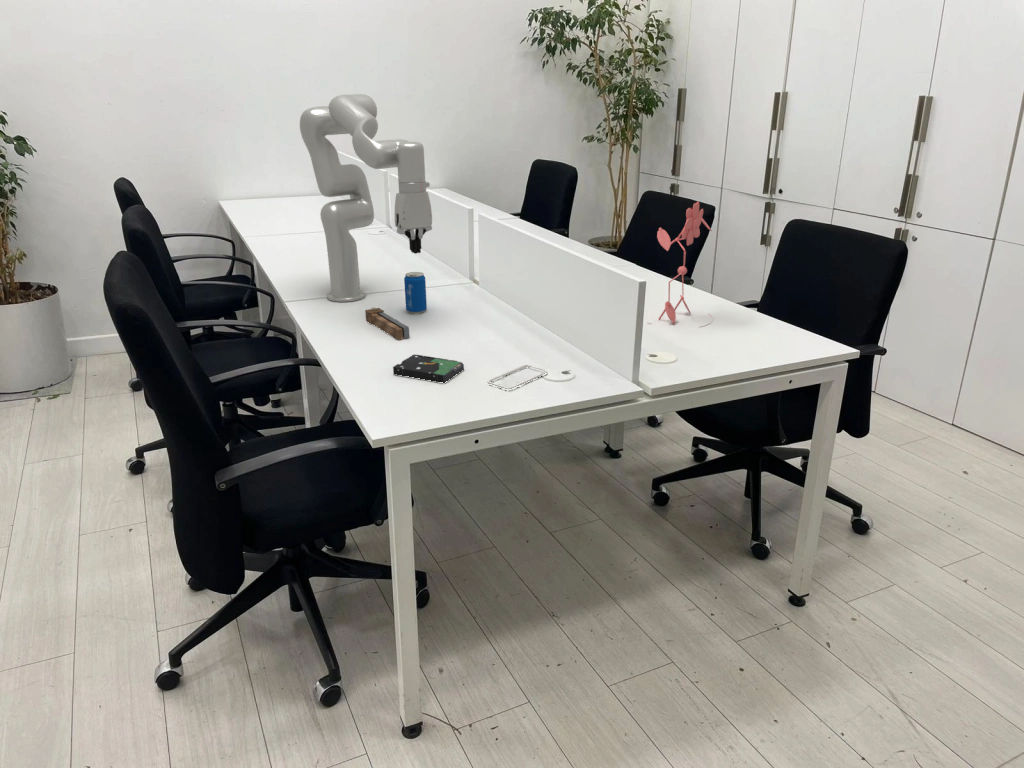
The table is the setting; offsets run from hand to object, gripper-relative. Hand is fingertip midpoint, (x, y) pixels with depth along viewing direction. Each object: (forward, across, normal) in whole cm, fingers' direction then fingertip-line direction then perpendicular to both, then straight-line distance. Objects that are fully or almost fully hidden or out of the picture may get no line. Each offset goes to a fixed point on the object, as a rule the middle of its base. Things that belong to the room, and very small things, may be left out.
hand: (415, 252), depth 225 cm
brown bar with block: (+21, +11, +2) cm, 24 cm away
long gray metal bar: (+21, +10, +3) cm, 23 cm away
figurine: (+21, -67, +44) cm, 83 cm away
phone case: (+22, +1, +55) cm, 59 cm away
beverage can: (+21, -4, -10) cm, 24 cm away
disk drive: (+22, +17, +39) cm, 48 cm away
